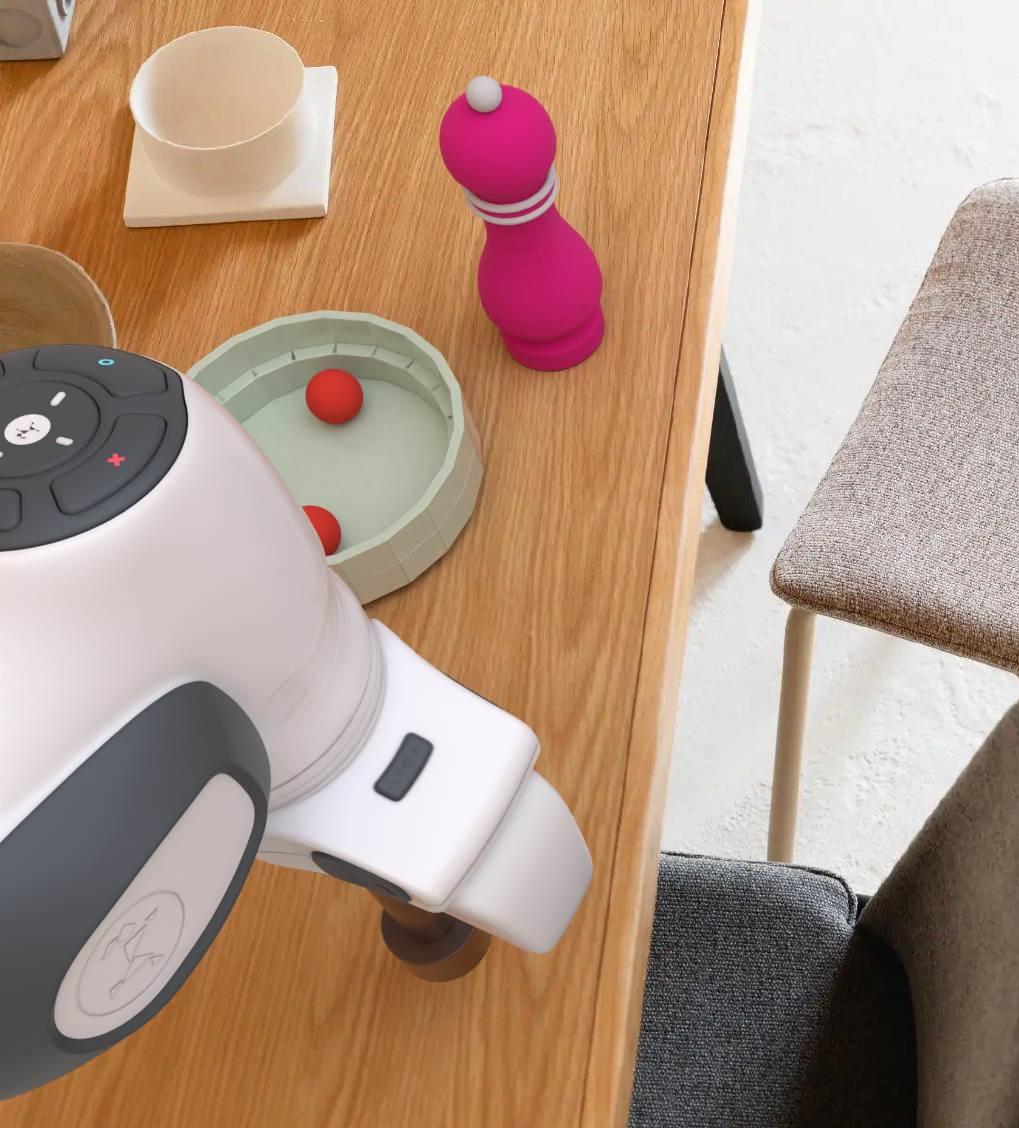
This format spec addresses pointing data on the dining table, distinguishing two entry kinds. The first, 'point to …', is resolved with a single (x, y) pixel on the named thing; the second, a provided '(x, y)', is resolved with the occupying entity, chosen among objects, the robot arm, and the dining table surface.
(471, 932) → the muddler
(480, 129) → the pepper mill
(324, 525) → the ball
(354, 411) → the ball
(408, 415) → the bowl
